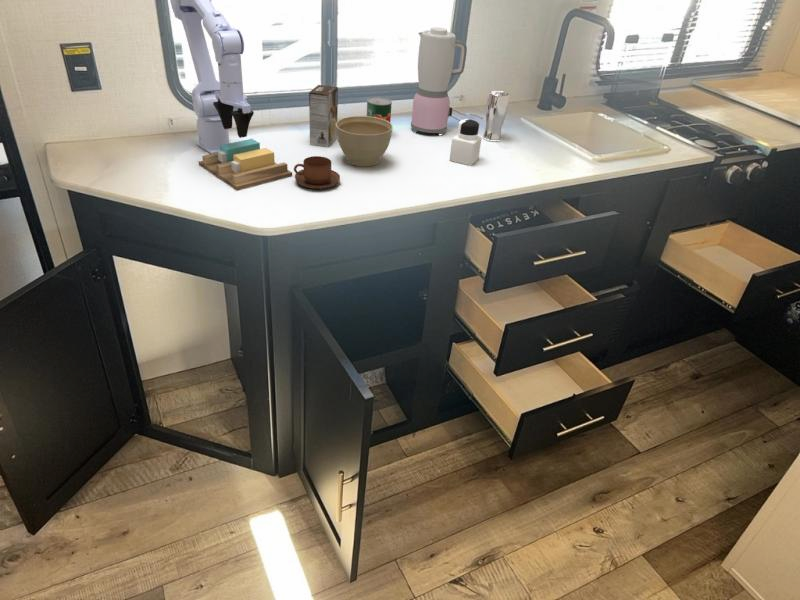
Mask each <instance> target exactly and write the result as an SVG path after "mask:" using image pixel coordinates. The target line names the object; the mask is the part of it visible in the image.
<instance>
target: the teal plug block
mask: <svg viewBox="0 0 800 600" xmlns="http://www.w3.org/2000/svg"><path fill="white" fill-rule="evenodd" d="M258 149H261V143H260V142H259V141H257V140H255V139H253V138H248V139H243V140H239V141H234V142H233V141H232V142H229V143H228V144H223V145H220V151H218V160H219V161H220V162H221V163H227V162H231V161H234V159H233V155H236V154H240V153H245V152H249V151H254V150H258Z"/></svg>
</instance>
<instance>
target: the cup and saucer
mask: <svg viewBox="0 0 800 600" xmlns="http://www.w3.org/2000/svg"><path fill="white" fill-rule="evenodd" d="M302 162H303V163H297V164H295V165H294V167H293V171H294V173H295V174H294V179H295V181H296V182H297V183H298V184H299V185H301V186H303V187H305V188H309V189H321V190H322V189H328V188H332V187H333V186H336V185H337V184H338V183H339V182H340V180H341V177H340V174H339V172H336V171H335V170H333V169H332V160H331V159H330V158H329V157H326V156H318V155H314V156H308V157H306V158H304V159H303V161H302ZM298 167H301V168H302V169H301V170H297V168H298Z"/></svg>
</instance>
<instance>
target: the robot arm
mask: <svg viewBox="0 0 800 600" xmlns="http://www.w3.org/2000/svg"><path fill="white" fill-rule="evenodd" d="M169 1H170V4H171V5H170V6H171V9H172V13H173V14H174V15H173V16H174V18H176V19H178V20H180V21H181V25H182V26H183V29H184V33H185V37H186V41H187V44H188V48H189V52H190V55H191V59H192V62H193V66H194V70H195V74H196V78H197V81H198V83H197V85H195V87H194V88H193V89H192V91H191V100H192V107H193V111H194V113H195V116H196V117H197V119H196V128H197V129H196V130H197V138H198V139H197V142H195V145H197V146H199V148H202V149H203V150H205V151H206V152H208V153H209V154H214V153H218V151H220V145H223V144H228V143H230V137H229V136H230V135H229V129H232V128H233V120H234V123H235V127H236V131H237V136H238V138H240V139H242V138H245V137H246V138H247V135H248V131H249V126H250V122H251V121H252V117H253V116H254V113H255V112H254V110H253V109H252V107H251V104H249V103H248V101H247V100H248V96H246V95H244V86H243V85H244V84H243V69H242V58H241V57H242V55H243V54H244V52H245V51H244V50H245V41H244V37H243V35H242V33H241V30H239V29H237V28H235V27H234V28H233V27H231V25H230V23H229V22H228V21H227V19H226V17H225V16H224V15H223V13H222V12H220V11H219V10H216V8H215V6H214V5H213V3H212V0H169ZM202 25H203V26H202ZM203 27H204V28H203ZM204 29H205V31H206V32H207V34H208V35H209V37H210V38H211V45H212V49H213V52H214V58H215V61H216V62H217V66H218V67H217V70H218V78H219V79H218V80H219V81H218V80H217V79H216V75H215V71H214V67H213V64H212V60H211V59H212V58H211V55H210V51H209V47H208V45H207V40H206V37H205V33H204ZM234 108H235V109H237V110H234Z"/></svg>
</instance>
